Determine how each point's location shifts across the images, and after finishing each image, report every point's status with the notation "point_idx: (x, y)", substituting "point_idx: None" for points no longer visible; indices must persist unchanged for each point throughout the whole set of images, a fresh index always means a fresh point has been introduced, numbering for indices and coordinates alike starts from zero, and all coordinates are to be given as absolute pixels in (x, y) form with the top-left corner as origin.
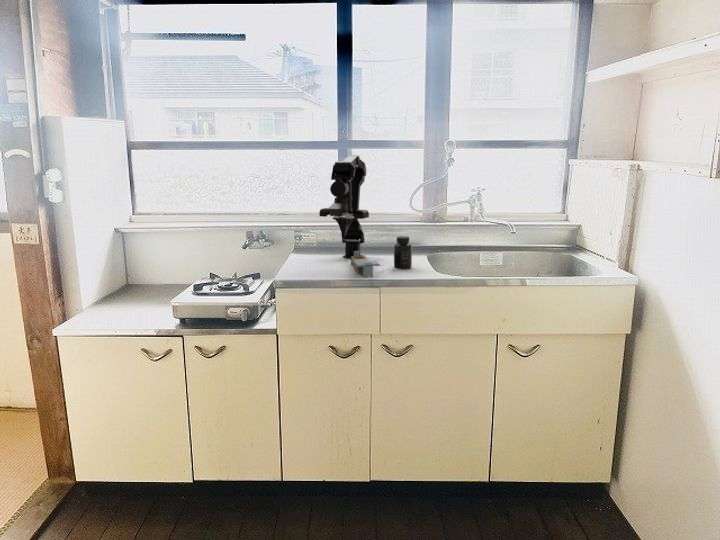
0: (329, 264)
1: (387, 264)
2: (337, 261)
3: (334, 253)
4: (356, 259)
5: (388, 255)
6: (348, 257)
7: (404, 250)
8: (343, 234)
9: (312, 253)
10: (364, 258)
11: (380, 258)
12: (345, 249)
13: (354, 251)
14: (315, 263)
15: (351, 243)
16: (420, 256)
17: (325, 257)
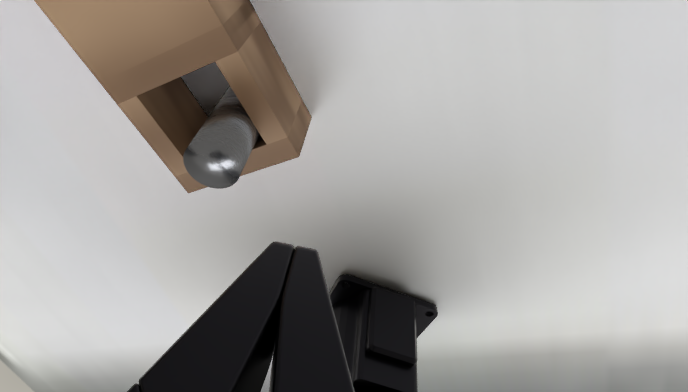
0: (509, 72)
1: (50, 164)
2: (451, 193)
3: (508, 375)
4: (176, 15)
5: None
6: (390, 291)
7: None
8: (287, 257)
9: (663, 368)
10: (126, 86)
11: (192, 302)
12: (413, 342)
13: (231, 158)
14: (661, 86)
15: (364, 389)
16: (30, 353)
17: (564, 290)
